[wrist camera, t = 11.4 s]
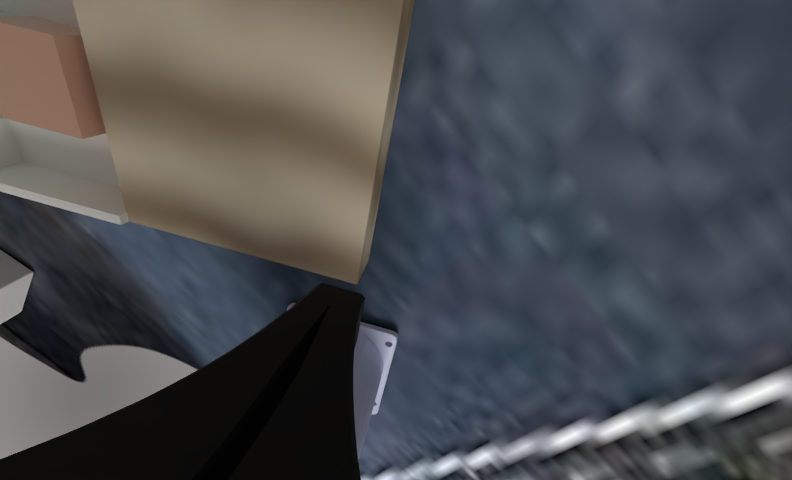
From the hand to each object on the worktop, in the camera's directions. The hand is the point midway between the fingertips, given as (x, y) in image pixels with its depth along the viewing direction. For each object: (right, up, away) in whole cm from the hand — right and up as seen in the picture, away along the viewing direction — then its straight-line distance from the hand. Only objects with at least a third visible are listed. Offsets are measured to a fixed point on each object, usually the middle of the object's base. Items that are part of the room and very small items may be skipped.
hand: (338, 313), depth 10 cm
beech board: (-5, +9, +8) cm, 13 cm away
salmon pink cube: (-15, +11, +8) cm, 20 cm away
